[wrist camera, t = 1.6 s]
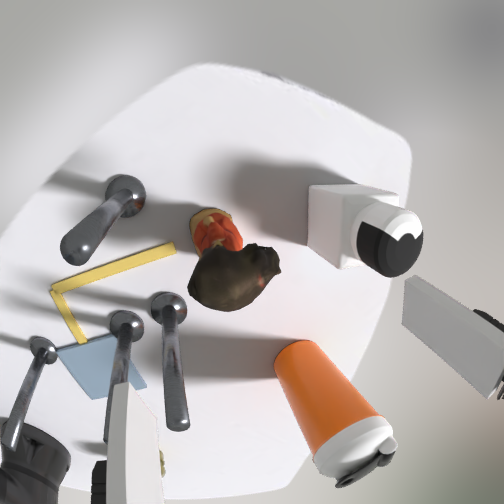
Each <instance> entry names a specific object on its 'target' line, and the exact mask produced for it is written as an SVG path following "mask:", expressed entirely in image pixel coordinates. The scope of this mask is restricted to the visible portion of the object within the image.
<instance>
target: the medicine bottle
mask: <svg viewBox="0 0 504 504" xmlns="http://www.w3.org/2000/svg"><path fill="white" fill-rule="evenodd" d="M398 204H399V195H398V194H396V193H392V192H389V191H385V190H381V189H377V188H373V187H369V186H365V185H361V184H334V185H311V186H309V197H308V241H307V245H308V247H309V248H310V249H312V250H313V251H314V252H316V253H317V254H318V255H320V256H321V257H323V258H324V259H325V260H327V261H328V262H329V263H331V264H332V265H333V266H335V267H336V268H337V269H346V268H352V267H357V266H363V265H367V266H369V267H371V268H372V269H374V270H375V271H377V272H378V273H380V274H381V275H383V276H385V277H390V278H391V277H397V276H399V275H401V274H403V273H405V272H406V271H408V270H409V269H410V268H411V267H412V265H413V264H414V263H415V261H416V260H417V258H418V256H419V254H420V251H421V248H422V244H423V229H422V225H421V222H420V220H419V218H418V217H417V216H416V214H415V213H413V212H411V211H409V210H406V209H403V208H400V207H398Z"/></svg>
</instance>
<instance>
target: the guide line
mask: <svg viewBox="0 0 504 504" xmlns="http://www.w3.org/2000/svg"><path fill="white" fill-rule="evenodd" d="M176 253H177V252H176V249H175V247H174V244H173V242H170V243H167V244H164V245H161V246H158V247H155V248H152V249H149V250H146V251H144V252H141V253H138V254H135V255H132V256H129V257H126V258H123V259H121V260H118V261H115V262H112V263H109V264H107V265H104V266H101V267H98V268H96V269H93V270H90V271H87V272H85V273H82V274H79V275H77V276H74V277H71V278H69V279H66V280H63V281H61V282H58V283H55V284H53V285H52V288H53V290H52V291H50V294H51V296H52V297H53V299H54V301H55V303H56V305H57V307H58V309H59V311H60V312H61V314H62V316H63V318H64V319H65V321H66V323H67V325H68V326H69V328H70V330H71V331H72V333H73V335H74V336H75V338H76V340H77V341H78V343H79V344H80V345H81V344H84V343H87V342H88V340H87V339H86V337H85V336H84V334H83V332H82V331H81V329H80V327H79V325H78V324H77V322H76V320H75V319H74V317H73V315H72V313H71V311H70V309H69V308H68V306H67V304H66V302H65V300H64V298H63V296H62V294H61V293H63V292H66V291H69V290H72V289H75V288H77V287H80V286H83V285H86V284H89V283H91V282H94V281H97V280H100V279H103V278H106V277H108V276H111V275H114V274H117V273H120V272H123V271H126V270H129V269H131V268H134V267H137V266H140V265H143V264H146V263H149V262H152V261H155V260H158V259H161V258H164V257H167V256H170V255H173V254H176Z"/></svg>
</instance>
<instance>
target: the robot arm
mask: <svg viewBox="0 0 504 504" xmlns="http://www.w3.org/2000/svg"><path fill="white" fill-rule="evenodd" d="M402 325H403V326H404V327H406V328H407V329H408V330H409V331H410V332H411V333H413V334H414V335H415V336H416V337H417V338H419V339H420V340H421V341H422V342H423V343H424V344H426V345H427V346H428V347H429V348H430V349H432V351H434V352H435V353H436V354H437V355H438V356H439V357H441V358H442V359H443V360H444V361H445V362H446V363H447V364H448V365H450V366H451V367H452V368H453V369H454V370H455V371H456V372H457V373H459V374H460V375H461V376H462V377H463V378H464V379H465V380H466V381H467V382H468V383H470V384H471V385H472V386H473V387H474V388H475V389H476V390H477V391H478V392H479V393H480V394H482V395H483V396H484V397H485V398H486V399H488V398H489V397H490V396H491V395H492V394H493V393H494V392H495V391H496V390H497V388H498V386H499V384H500V382H501V381H503V382H504V325H503V324H502V323H499V321H497V320H496V319H493V317H491V316H490V315H488V314H487V313H485V312H483V311H480V310H477V309H474V310H473V311H472V310H470V309H469V308H467V307H466V306H464V305H462V304H461V303H459V302H458V301H456V300H455V299H453V298H452V297H450V296H449V295H447V294H446V293H444V292H443V291H441V290H439V289H438V288H436V287H435V286H433V285H431V284H430V283H428V282H426V281H425V280H423V279H421V278H420V277H418V276H417V275H414V276H412V277H410V278H408V279H406V280H405V286H404V303H403V316H402ZM503 392H504V385H503V387H502V388H501V390H500V392H499V394H498V397H497V399H498V400H499V399H500V397H501V396H502V394H503ZM502 399H504V395H503V397H502ZM6 425H7V422H6V423H4V425H3V427H2V430H1V441H2V438H3V435H4V431H5V428H6ZM1 452H2V463H1V467H0V504H58V491H59V486H60V484H61V482H62V481H63V479H64V477H65V474H66V472H67V471H68V470H69V468H70V462H71V456H70V454H69V452H68V450H67V449H66V448H65V447H64V446H63V445H62V444H61V443H59V442H58V441H57V440H56V439H54V438H53V437H51V436H50V435H48V434H46V433H45V432H43V431H41V430H39V429H37V428H35V427H32V426H30V425H27V424H24V423H23V426H22V429H21V432H20V436H19V439H18V443H17V447H16V451H15V452H12V451H10V450H8V449H6V448H5V447H4V446H3V445H2V444H1ZM91 493H92V495H91V504H165V500H164V493H163V484H162V475H161V465H160V454H159V440H158V423H157V417H156V416H155V415H154V414H153V412H152V411H151V410H150V409H149V407H148V406H147V405H146V403H145V402H144V401H143V399H142V398H141V397H140V396H139V394H138V393H137V391H136V390H135V389H134V387H133V386H132V385H131V383H130V382H125V383H121V384H116V385H114V390H113V398H112V406H111V415H110V425H109V437H108V452H107V460H104V461H97V462H96V464H95V467H94V469H93V471H92V486H91Z"/></svg>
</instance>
